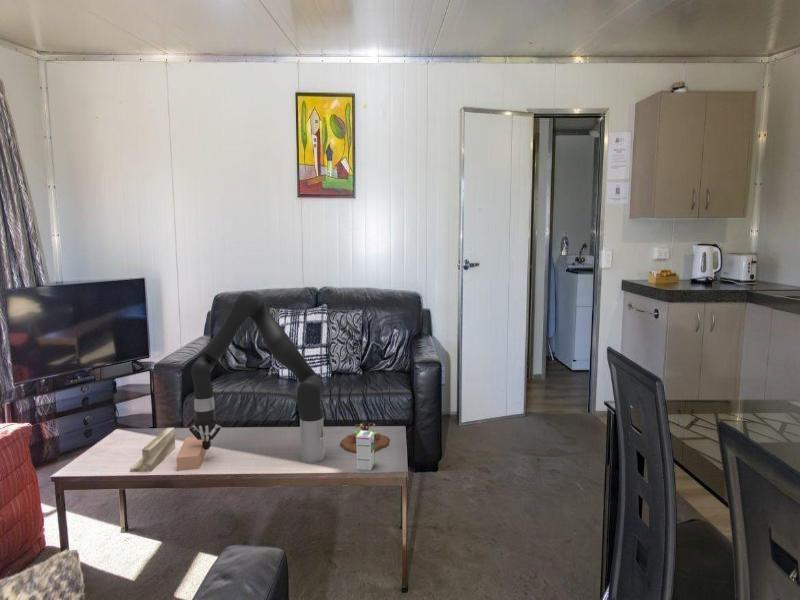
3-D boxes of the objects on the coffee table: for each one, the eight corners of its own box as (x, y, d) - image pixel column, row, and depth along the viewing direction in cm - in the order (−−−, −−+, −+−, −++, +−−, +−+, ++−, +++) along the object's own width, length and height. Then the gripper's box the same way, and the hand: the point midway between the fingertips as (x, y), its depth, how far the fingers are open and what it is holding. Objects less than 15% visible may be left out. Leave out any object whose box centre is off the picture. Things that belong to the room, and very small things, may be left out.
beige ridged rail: (175, 448, 217) (174, 427, 216) (151, 472, 195) (149, 449, 194) (156, 448, 217) (155, 427, 216) (130, 472, 195) (128, 449, 194)
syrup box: (371, 473, 194) (371, 436, 192) (356, 471, 195) (356, 435, 194) (375, 466, 200) (374, 431, 198) (360, 465, 201) (360, 429, 199)
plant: (331, 449, 216) (331, 424, 215) (358, 433, 233) (357, 410, 232) (371, 460, 206) (371, 433, 205) (395, 442, 223) (395, 418, 222)
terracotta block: (206, 449, 217) (205, 435, 216) (199, 470, 197) (198, 455, 197) (186, 451, 215) (185, 437, 214) (177, 472, 196) (176, 457, 195)
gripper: (224, 404, 207) (226, 445, 210) (191, 404, 207) (193, 445, 209) (218, 410, 200) (220, 452, 202) (184, 411, 200) (186, 453, 202)
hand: (206, 448), depth 206 cm, fingers closed
